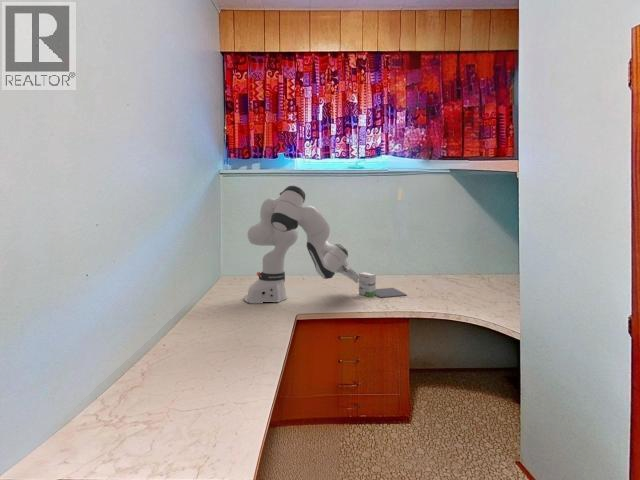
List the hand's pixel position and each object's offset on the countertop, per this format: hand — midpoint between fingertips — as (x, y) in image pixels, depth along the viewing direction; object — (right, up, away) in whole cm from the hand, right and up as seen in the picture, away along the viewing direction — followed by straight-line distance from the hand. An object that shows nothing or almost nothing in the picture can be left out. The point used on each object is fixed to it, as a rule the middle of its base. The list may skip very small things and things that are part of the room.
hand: (356, 281), depth 236 cm
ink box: (+6, -8, +3) cm, 10 cm away
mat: (+17, -7, +7) cm, 20 cm away
